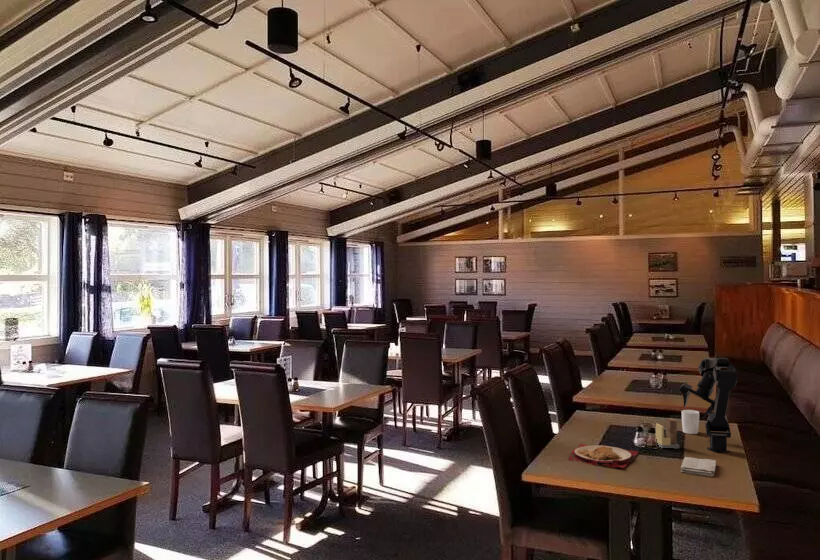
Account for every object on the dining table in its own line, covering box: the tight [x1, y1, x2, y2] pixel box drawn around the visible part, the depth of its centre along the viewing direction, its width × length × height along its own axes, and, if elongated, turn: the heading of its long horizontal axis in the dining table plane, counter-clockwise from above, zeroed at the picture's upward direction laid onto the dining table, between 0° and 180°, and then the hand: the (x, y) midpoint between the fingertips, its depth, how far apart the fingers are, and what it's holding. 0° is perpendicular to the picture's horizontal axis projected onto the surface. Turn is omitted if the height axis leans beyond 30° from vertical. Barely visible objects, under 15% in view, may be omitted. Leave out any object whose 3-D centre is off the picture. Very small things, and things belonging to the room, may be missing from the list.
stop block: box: [665, 417, 678, 444], centre depth 272 cm, size 3×4×10 cm
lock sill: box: [655, 422, 680, 449], centre depth 272 cm, size 8×6×10 cm
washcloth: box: [680, 456, 717, 478], centre depth 241 cm, size 12×18×3 cm, turn 153°
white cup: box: [680, 409, 700, 435], centre depth 298 cm, size 8×8×10 cm
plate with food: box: [564, 443, 639, 469], centre depth 256 cm, size 25×26×4 cm
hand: (694, 411), depth 289 cm, fingers open, 9 cm apart
